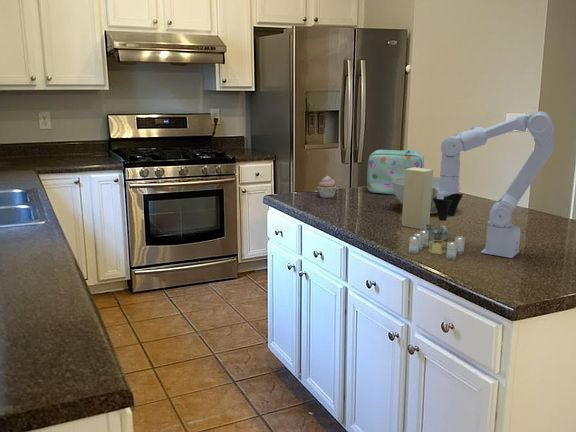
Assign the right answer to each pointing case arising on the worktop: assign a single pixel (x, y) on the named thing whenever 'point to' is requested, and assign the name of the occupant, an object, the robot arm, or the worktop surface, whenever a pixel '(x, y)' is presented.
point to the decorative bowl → (399, 190)
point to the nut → (437, 246)
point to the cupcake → (327, 187)
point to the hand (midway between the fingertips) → (446, 218)
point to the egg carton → (436, 232)
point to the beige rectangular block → (417, 197)
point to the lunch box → (390, 168)
